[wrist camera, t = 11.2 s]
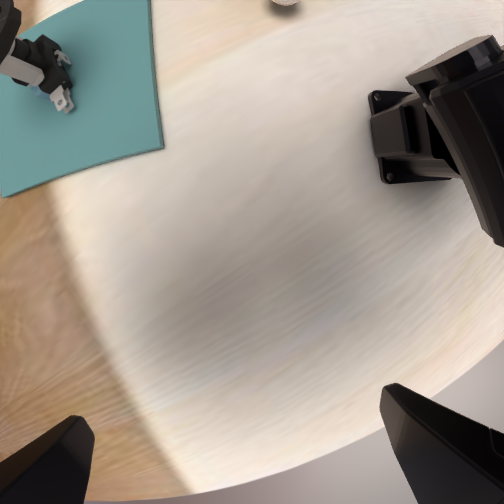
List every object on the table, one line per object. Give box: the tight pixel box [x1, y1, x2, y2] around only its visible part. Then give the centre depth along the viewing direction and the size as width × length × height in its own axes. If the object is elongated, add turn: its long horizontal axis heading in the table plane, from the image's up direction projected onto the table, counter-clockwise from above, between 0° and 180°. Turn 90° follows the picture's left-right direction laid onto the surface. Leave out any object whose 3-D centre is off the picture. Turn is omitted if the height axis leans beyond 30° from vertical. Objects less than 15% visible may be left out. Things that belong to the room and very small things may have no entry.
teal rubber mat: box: [0, 0, 164, 198], centre depth 15 cm, size 14×14×1 cm
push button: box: [0, 0, 74, 113], centre depth 10 cm, size 7×5×10 cm
